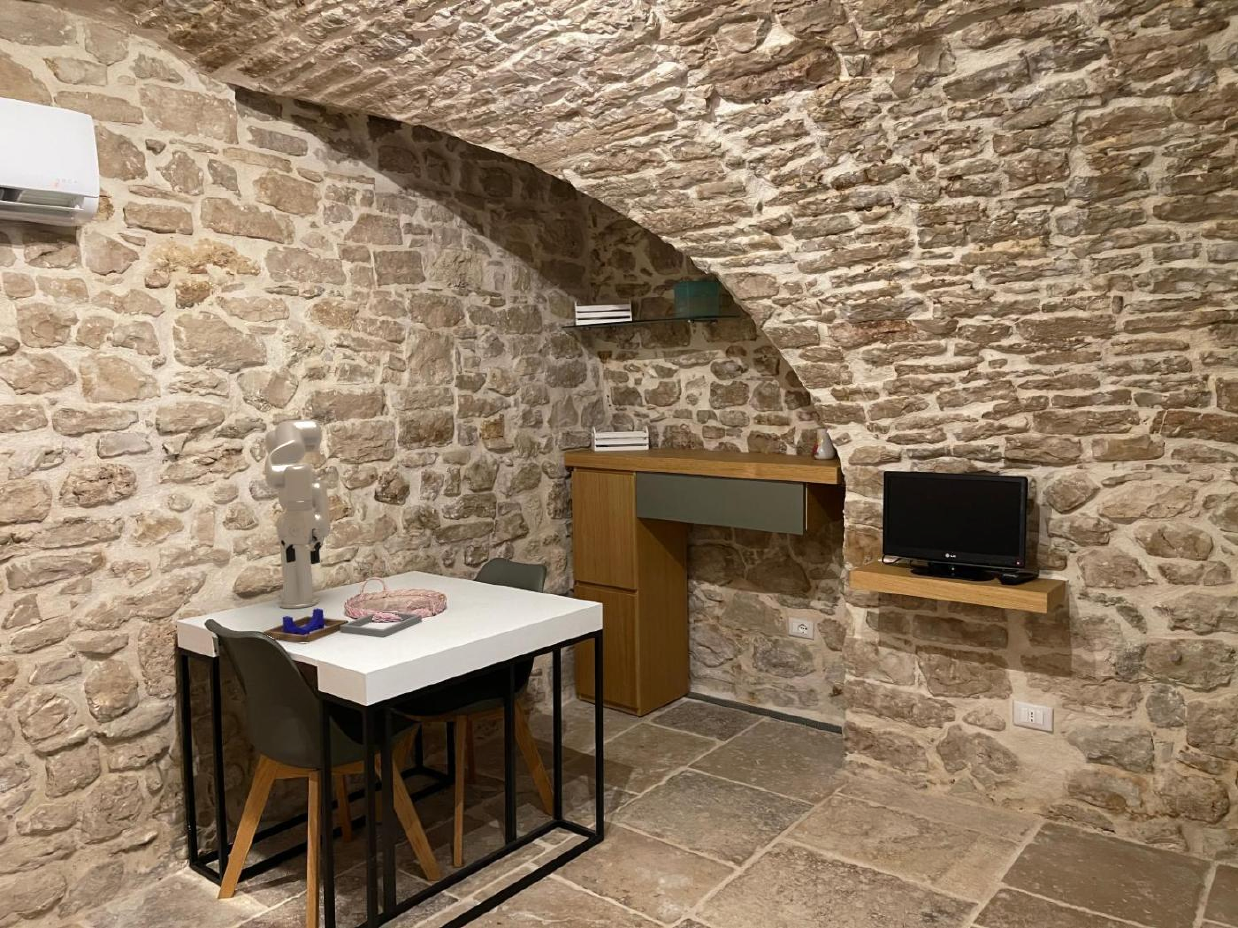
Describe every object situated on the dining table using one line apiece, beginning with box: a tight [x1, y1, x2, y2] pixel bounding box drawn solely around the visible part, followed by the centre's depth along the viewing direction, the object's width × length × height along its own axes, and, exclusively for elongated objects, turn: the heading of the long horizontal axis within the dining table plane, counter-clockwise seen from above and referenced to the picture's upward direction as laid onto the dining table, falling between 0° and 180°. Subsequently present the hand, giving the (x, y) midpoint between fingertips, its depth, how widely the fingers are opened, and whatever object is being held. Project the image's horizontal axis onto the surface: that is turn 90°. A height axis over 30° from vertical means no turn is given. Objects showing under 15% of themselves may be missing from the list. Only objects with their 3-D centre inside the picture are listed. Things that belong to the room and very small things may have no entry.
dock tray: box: [340, 610, 423, 638], centre depth 293 cm, size 16×18×2 cm
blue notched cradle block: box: [282, 608, 325, 635], centre depth 289 cm, size 12×4×6 cm, turn 141°
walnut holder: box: [262, 615, 349, 643], centre depth 289 cm, size 16×18×2 cm
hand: (303, 562), depth 287 cm, fingers open, 9 cm apart
